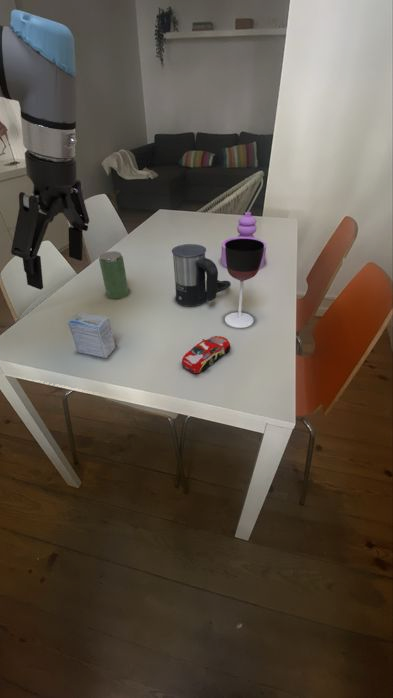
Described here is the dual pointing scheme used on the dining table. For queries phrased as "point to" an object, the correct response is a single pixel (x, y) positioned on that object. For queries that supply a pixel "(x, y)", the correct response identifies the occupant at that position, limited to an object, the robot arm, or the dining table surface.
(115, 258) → the green can
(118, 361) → the dining table surface
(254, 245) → the wineglass
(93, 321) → the medicine box
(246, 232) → the purple rounded knobbed piece
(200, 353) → the race car
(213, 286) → the milk frother
